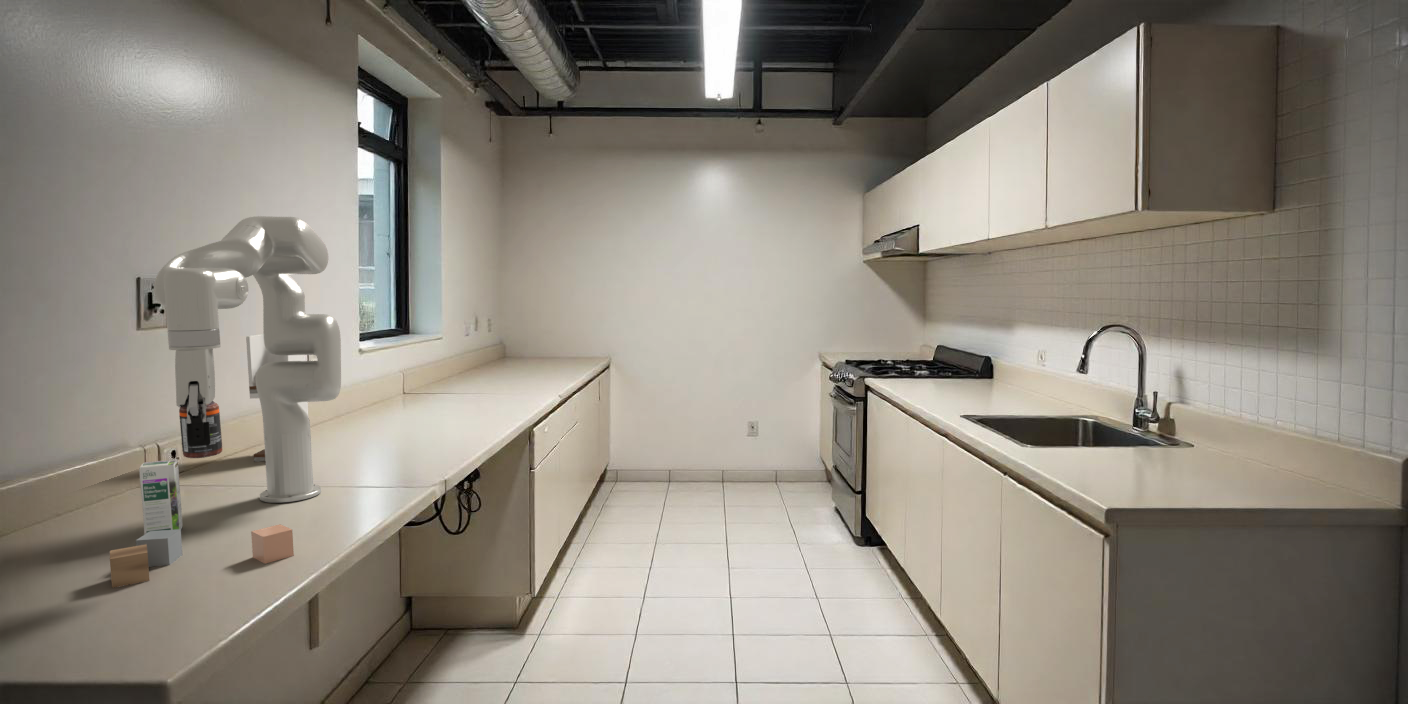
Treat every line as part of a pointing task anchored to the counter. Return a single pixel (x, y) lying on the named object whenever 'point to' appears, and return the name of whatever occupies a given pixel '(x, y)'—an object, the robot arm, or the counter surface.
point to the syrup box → (160, 495)
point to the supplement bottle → (215, 433)
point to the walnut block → (129, 565)
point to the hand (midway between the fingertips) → (201, 440)
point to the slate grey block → (162, 546)
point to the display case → (256, 360)
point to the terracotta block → (272, 543)
